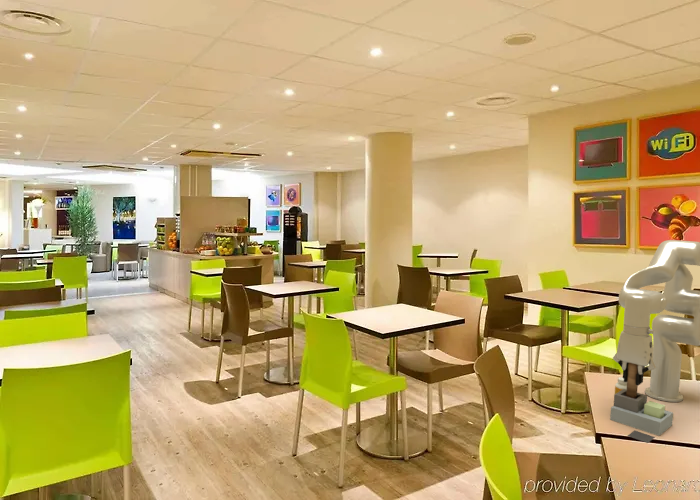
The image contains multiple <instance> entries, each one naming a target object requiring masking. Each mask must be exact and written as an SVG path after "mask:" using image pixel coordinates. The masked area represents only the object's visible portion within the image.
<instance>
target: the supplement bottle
mask: <svg viewBox="0 0 700 500" xmlns="http://www.w3.org/2000/svg"><path fill="white" fill-rule="evenodd" d="M623 389H626V390H627V382H624V378H623V376H620V377H617V382H616V383H615V385H614V394H616V393H618V392H620V391H621V390H623Z"/></svg>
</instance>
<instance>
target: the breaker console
mask: <svg viewBox="0 0 700 500" xmlns="http://www.w3.org/2000/svg"><path fill="white" fill-rule="evenodd" d="M626 391H627V390H626V389H623V390H621V391H620V392H618V393H616V394H615V393H614V395H613V397H614V398H613V406H611V408H610V414H609V416H610V418H609V419H610V421H613V422H616V423H619V424H622V425H624V426H628V427H630V428H634V429H636V430H640V431H643V432H646V433H649V434H652V435H655V436H658V437H660V436H661V435H662V434H664V433H665V432H666V431H668V430H669V429H670V428H671V427H672V426H673V419H674V412H673V411H669V410H666V409H665V413H664V417H663V418H662V419H659V418H656V417H652V416H649V415H646V414H644V406H645V404H646V403H647V402H648V395H647V394H643V393H640V392H637V398H636V399H634V398H630V397H627V396H626Z"/></svg>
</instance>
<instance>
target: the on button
mask: <svg viewBox="0 0 700 500" xmlns="http://www.w3.org/2000/svg"><path fill="white" fill-rule="evenodd" d="M665 410H666V404H661V403H658V402H654V401H651V400H649V401H647V403H646V404H645V406H644V414H646V415H649V416H652V417H656V418H659V419H662V418H663V417H664V413H665Z"/></svg>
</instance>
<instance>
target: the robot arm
mask: <svg viewBox="0 0 700 500" xmlns="http://www.w3.org/2000/svg"><path fill="white" fill-rule="evenodd" d="M686 265H689V266H697V267H700V242H699V241H692V240H691V241H689V240H678V239H669V240H664V241H662V242H661V243H659V245H658V246H657V249H656V251H655V252H654V254H653V257H652V258H651V261H650V263H649V265H648V266H646V267H644V268H642V269H639V270H638V271H636V272H634V273H632V274H631V275H629V276H628V277H627V279H626V280H625V281H624V284H623V285H622V286H621V288H620V292H619V294H618V304H619V306H620V307H622V308H624V313H623V315H624V316H623V330H622V331H621V333H620V335H619V338H618V344H617V347H616V348H617V349H616V353H615V355H613V357H612V360H614V361H615V362H616V363H617V364H618V365H619V367H621V370H622V377H623V378H624V382H627V376H628V363H633V364H637V365H638V373H637V374H636V385H638V386H640V385H642V384H643V382H644V373H646V372H649V371H650V379H649V380H650V381H649V382H650V383H649V387H646V388H644V393H645V395H647V397H650V398H653V399H654V400H659V401H664V402H669V403H678V402H682V401H683V400H684V395H682V393H680V383H681V379H680V378H681V369H682V358H683V353H682V349H681V347H680V346H679V345H678V343H679V344H680V343H681V344H685V345H691V346H696V347H699V346H700V290H696V289H695V290H694V289H692V287H693V286H692V285H693V280H694V279H693V274H692V273H691V271H690V269H689V268H688V267H687V266H686ZM663 283H665V284H664V288H663V292H660V291H656V290H655V291H654V290H647V289H643V288H645V287H648V286H649V287H650V286H654V285H660V284H663ZM664 310H665V311H667V312H671V313H675V314H680V315H688V316H692V317H693V318H691V317H690V318H688V317H683V316H677V315H672V314H659V313H662V312H663V311H664ZM653 314H655V315H656V314H659V315H656V316H655V317H653V319H652V322H651V315H653ZM650 322H651V324H650ZM650 325H651V326H650ZM650 334H651V335H650Z"/></svg>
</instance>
